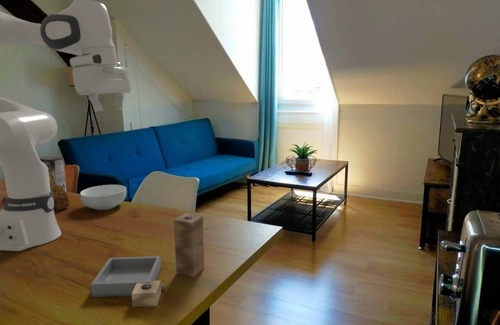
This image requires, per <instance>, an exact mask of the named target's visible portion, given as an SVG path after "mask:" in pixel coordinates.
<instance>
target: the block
mask: <svg viewBox="0 0 500 325" xmlns="http://www.w3.org/2000/svg"><path fill="white" fill-rule="evenodd" d="M203 220H204V218H203V215H198V214H190V213H184V214H181V215H180V216H178V217H177V218H175V219H174V220H173V229H174V248H175V249H174V250H175V251H174V252H175V270H176V271H175V272H176V275H180V276H184V277H189V278H196V276H198V275H199V274H200V273H201V272H202V271H203V270H204V269H205V256H204V254H205V252H204V251H205V250H204V221H203Z"/></svg>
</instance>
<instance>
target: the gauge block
mask: <svg viewBox="0 0 500 325" xmlns="http://www.w3.org/2000/svg"><path fill="white" fill-rule="evenodd" d="M161 282H162V281H161V280H158V279H157V280H156V281H150V283H137V284H136V286H135V288H134V290H133V292H132V296H131V300H132V301H131V303H132V308H136V307H137V308H139V307H142V308H143V307H157V306H158V303H159V300H160V298H161V294H162V291H164V290H165V289H166V284H164V283H162V284H161Z"/></svg>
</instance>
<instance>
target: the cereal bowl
mask: <svg viewBox="0 0 500 325" xmlns="http://www.w3.org/2000/svg"><path fill="white" fill-rule="evenodd" d="M79 195H80V196H79V197H80V200H81V203H82V204H83V205H84V206H85V207H87V208H90V209H94V210H95V211H107V210H111V209H114V208H116V207H117V206H118V205H120V204H122V203H123V202H124V201H125V199H126V198H127V187H126V186H125V185H121V184H106V185H105V184H103V185H97V186H92V187H88V188H86V189H85V188H84V189H83V190H82V191H80V194H79Z"/></svg>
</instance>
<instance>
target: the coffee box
mask: <svg viewBox="0 0 500 325" xmlns="http://www.w3.org/2000/svg"><path fill="white" fill-rule="evenodd" d="M39 159H40V160H41V162H42V163H44V164H45V165H46V166H47V167H48V173H49V176H51V175H53V176H54V178H53V179H52V181H53V182H52V183H53V186H55V185H60V186H62V188H63V189H64V191H65V193H67V182H66V172H65V160H64V157H55V156H45V157H39Z"/></svg>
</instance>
